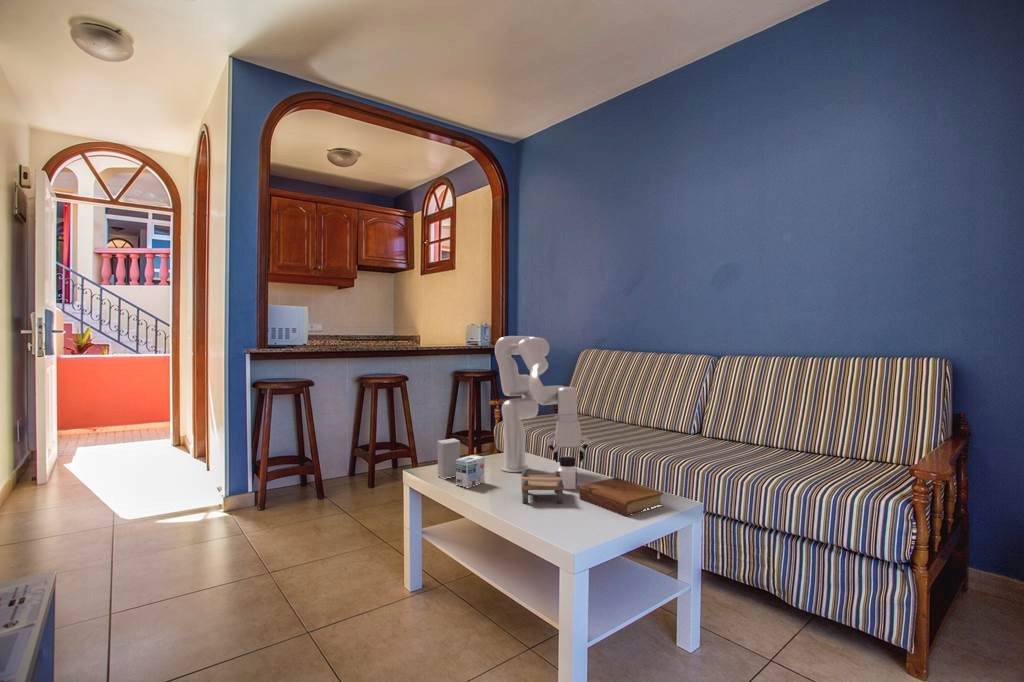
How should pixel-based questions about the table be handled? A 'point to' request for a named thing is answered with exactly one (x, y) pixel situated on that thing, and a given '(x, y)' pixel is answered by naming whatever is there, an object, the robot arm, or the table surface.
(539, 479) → the shelf stand
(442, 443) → the skincare box
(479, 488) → the table surface
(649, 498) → the diary
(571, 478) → the medicine bottle
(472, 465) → the light bulb box
